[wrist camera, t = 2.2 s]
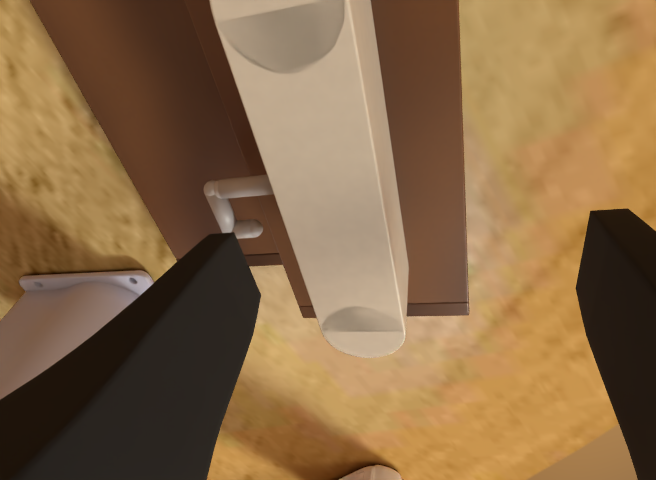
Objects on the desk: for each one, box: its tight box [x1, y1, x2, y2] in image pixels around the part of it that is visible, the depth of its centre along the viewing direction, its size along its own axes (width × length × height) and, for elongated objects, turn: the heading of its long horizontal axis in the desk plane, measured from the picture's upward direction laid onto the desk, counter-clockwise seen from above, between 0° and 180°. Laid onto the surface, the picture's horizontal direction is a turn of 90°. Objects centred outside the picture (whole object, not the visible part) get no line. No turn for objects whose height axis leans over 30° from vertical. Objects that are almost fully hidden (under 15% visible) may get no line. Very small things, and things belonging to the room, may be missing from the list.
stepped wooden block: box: [30, 0, 469, 318], centre depth 17 cm, size 15×16×5 cm
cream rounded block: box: [204, 0, 409, 358], centre depth 14 cm, size 6×13×3 cm, turn 12°
